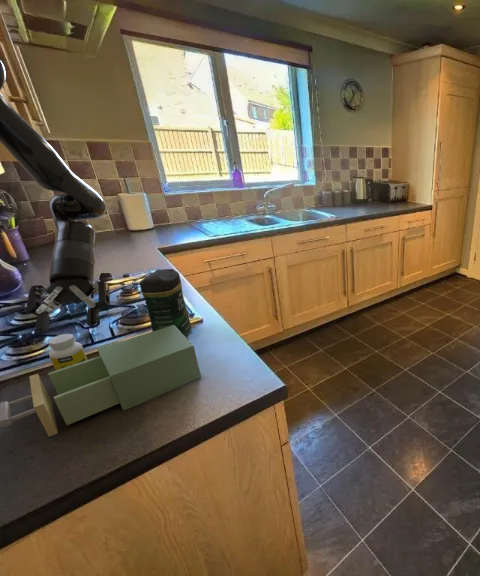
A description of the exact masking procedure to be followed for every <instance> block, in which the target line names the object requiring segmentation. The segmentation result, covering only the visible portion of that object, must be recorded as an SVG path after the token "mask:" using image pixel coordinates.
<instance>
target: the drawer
mask: <svg viewBox="0 0 480 576" xmlns="http://www.w3.org/2000/svg"><path fill="white" fill-rule="evenodd" d="M47 374H48V377H49V379H50V381H51V383H52V386H53V387H54V390H55V392H56V394H57V395H55V396H53V400H54V402H55V404H56V406H57V408H58V410H59V412H60V414H61V417H62V419H63V421H64V423H65V425H66V426H69V425H71V424H73V423H76V422H78V421H81V420H83V419H86V418H88V417H90V416H92V415H96V414H97V413H100V412H103V411H104V410H105V411H106V410H107V409H109V408H112V407H114V406H116V405H120V401H119V398H118V396H117V393H116V390H115V388H114V385H113V383H112V380H111V377H110V375H109V373H108V371H107V369H106V367H105V365H104V363H103V361H102V358H101V356H100V355H98V356H96V357H93V358H90V359H87V360H86V361H83V362H80V363H77V364H74V365H71V366H68V367H65V368H62V369H59V370H54V371H50V372H48V373H47ZM29 384H30V390H31V394H29V395H25V396H23V397H20V398H18V399H15V400H12V401H6V400H5V401H1V402H0V427H1V428H5V427H8V426H10V425H11V424H12V422H14V421H17V420H20V419H22V418H25V417H27V416H30V415H32V414H35V413H36V415H37V416H38V419H39V421H40V422H41V424H42V425H43V428H44V430H45V432H46V433H47V436H48V437H52V436H55V435H57V434H58V433H59V431H58V425H57V421H56V417H55V412H54V407H53V402H52V400H51V397H50V395H49V393H48V391H47V390H46V387H45V385H44V383H43V381H42V379H41V376H40V374H39V373H36V374H32V375H30V376H29ZM30 400H32V405H33V408H31V409H29V410H25V411H22V412H20V413H18V414H15V415H12V411H11V410H12V409H11V407H13V406H15V405H18V404H21V403H24V402H27V401H30Z"/></svg>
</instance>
